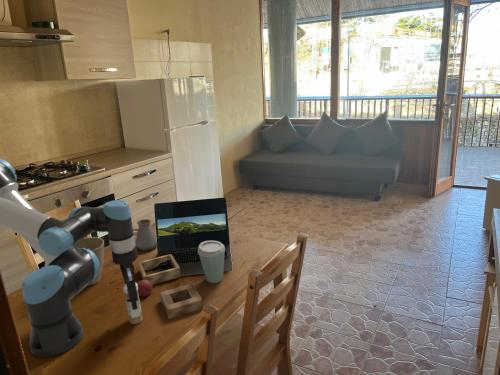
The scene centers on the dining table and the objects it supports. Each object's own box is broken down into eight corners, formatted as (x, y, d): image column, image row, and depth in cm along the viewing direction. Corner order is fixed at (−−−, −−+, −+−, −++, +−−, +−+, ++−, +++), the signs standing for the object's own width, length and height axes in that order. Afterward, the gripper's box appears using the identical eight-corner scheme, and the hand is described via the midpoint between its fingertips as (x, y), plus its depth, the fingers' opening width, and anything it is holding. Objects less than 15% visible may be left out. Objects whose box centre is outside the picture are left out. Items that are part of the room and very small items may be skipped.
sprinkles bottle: (144, 320, 129) (139, 285, 125) (131, 326, 127) (125, 290, 123) (140, 314, 133) (134, 279, 129) (127, 319, 130) (121, 284, 126)
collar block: (169, 319, 129) (167, 310, 128) (161, 301, 140) (159, 292, 139) (203, 308, 134) (202, 299, 133) (192, 291, 144) (192, 283, 143)
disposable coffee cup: (229, 272, 156) (226, 238, 152) (225, 287, 146) (222, 251, 141) (204, 272, 157) (200, 238, 153) (198, 287, 147) (194, 251, 143)
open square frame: (145, 286, 150) (144, 277, 149) (139, 270, 162) (138, 262, 161) (181, 276, 155) (179, 267, 154) (172, 262, 167) (171, 254, 166)
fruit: (139, 303, 143) (142, 291, 138) (132, 291, 145) (134, 279, 140) (154, 296, 146) (157, 284, 141) (147, 284, 149) (150, 272, 144)
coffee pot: (151, 239, 192) (147, 211, 187) (164, 245, 184) (160, 216, 180) (111, 255, 177) (105, 225, 173) (124, 263, 169) (118, 231, 165)
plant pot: (62, 289, 151) (54, 252, 146) (86, 270, 165) (79, 236, 160) (96, 292, 148) (88, 255, 143) (117, 272, 161) (111, 238, 157)
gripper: (140, 256, 116) (151, 323, 123) (131, 236, 131) (141, 296, 138) (114, 263, 113) (127, 330, 120) (108, 241, 128) (119, 302, 135)
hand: (134, 312), depth 129 cm, fingers closed on sprinkles bottle, 4 cm apart
